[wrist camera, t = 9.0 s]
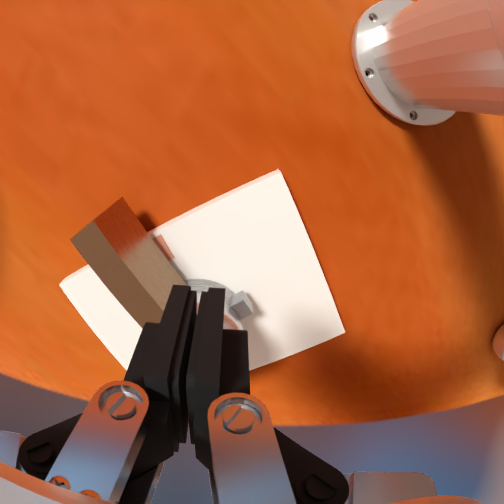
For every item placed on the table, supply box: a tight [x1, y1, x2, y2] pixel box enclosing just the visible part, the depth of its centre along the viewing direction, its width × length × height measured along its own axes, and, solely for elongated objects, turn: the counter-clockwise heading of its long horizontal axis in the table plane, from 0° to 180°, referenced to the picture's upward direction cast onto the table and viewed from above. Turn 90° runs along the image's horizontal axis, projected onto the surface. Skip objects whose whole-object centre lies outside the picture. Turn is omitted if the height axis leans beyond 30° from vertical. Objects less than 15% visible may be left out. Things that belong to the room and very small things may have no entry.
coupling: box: [70, 197, 253, 330], centre depth 25 cm, size 17×10×7 cm, turn 30°
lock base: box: [59, 169, 345, 371], centre depth 30 cm, size 24×18×2 cm
